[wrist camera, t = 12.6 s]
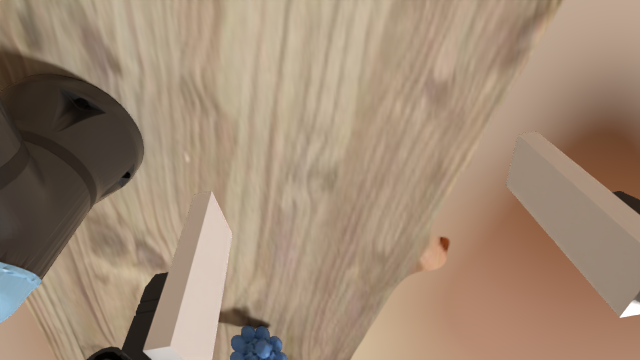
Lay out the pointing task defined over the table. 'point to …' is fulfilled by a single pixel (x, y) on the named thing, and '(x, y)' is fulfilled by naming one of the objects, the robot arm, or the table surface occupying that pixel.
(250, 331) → the blue flower toy
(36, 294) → the table surface
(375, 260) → the table surface
